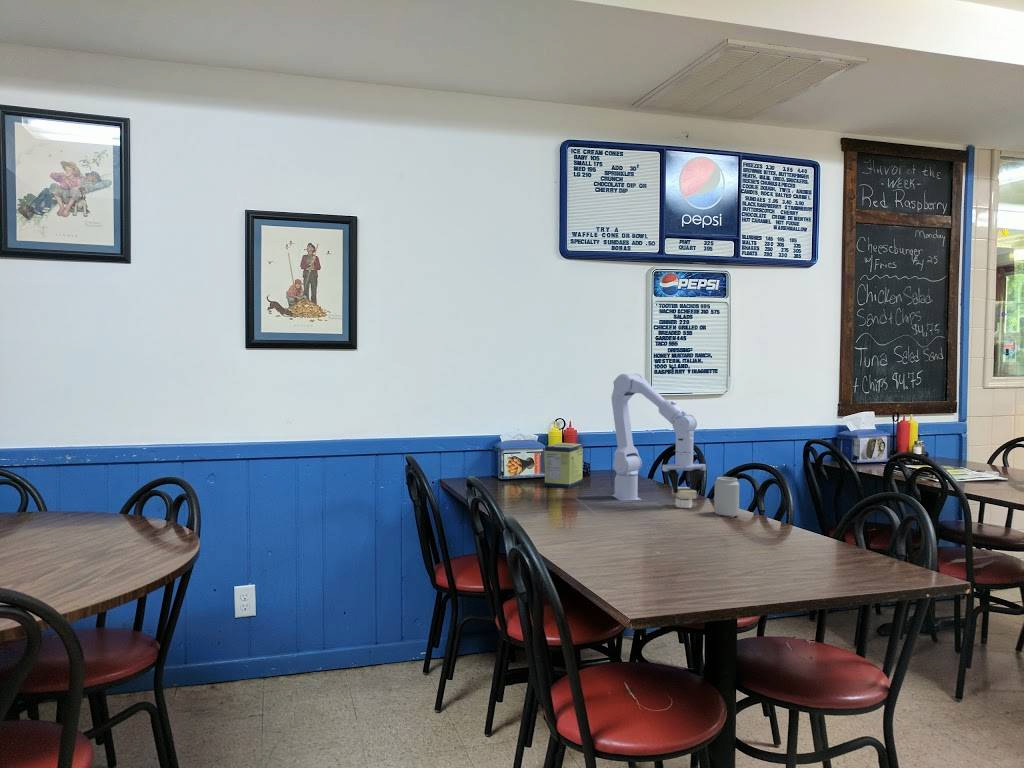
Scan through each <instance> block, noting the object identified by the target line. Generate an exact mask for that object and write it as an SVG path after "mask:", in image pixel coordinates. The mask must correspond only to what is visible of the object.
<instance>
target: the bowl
mask: <svg viewBox="0 0 1024 768" xmlns="http://www.w3.org/2000/svg"><path fill="white" fill-rule="evenodd" d="M675 507H676V508H681V509H682V508H683V509H688V508H689V509H690V508H692V507H693V499H680V498H678V497H675Z"/></svg>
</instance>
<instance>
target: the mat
mask: <svg viewBox="0 0 1024 768" xmlns="http://www.w3.org/2000/svg"><path fill="white" fill-rule="evenodd" d="M630 504H631V505H633V506H634V507H636V508H637V509H639V510H641V511H651V510H653V511H655V510H657V511H658V510H668V508H667V507H666V506H663V505H662V504H660V503H658V502H656V501H645V502H643V501H642V502H641V501H640V502H630Z"/></svg>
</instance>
